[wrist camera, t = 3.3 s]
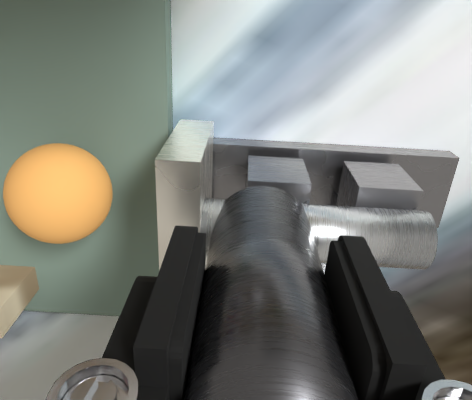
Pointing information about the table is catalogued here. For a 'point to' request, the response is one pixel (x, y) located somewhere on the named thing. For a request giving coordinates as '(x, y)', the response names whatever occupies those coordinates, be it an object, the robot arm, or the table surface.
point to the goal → (15, 293)
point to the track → (334, 168)
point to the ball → (57, 193)
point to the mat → (88, 135)
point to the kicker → (278, 265)
